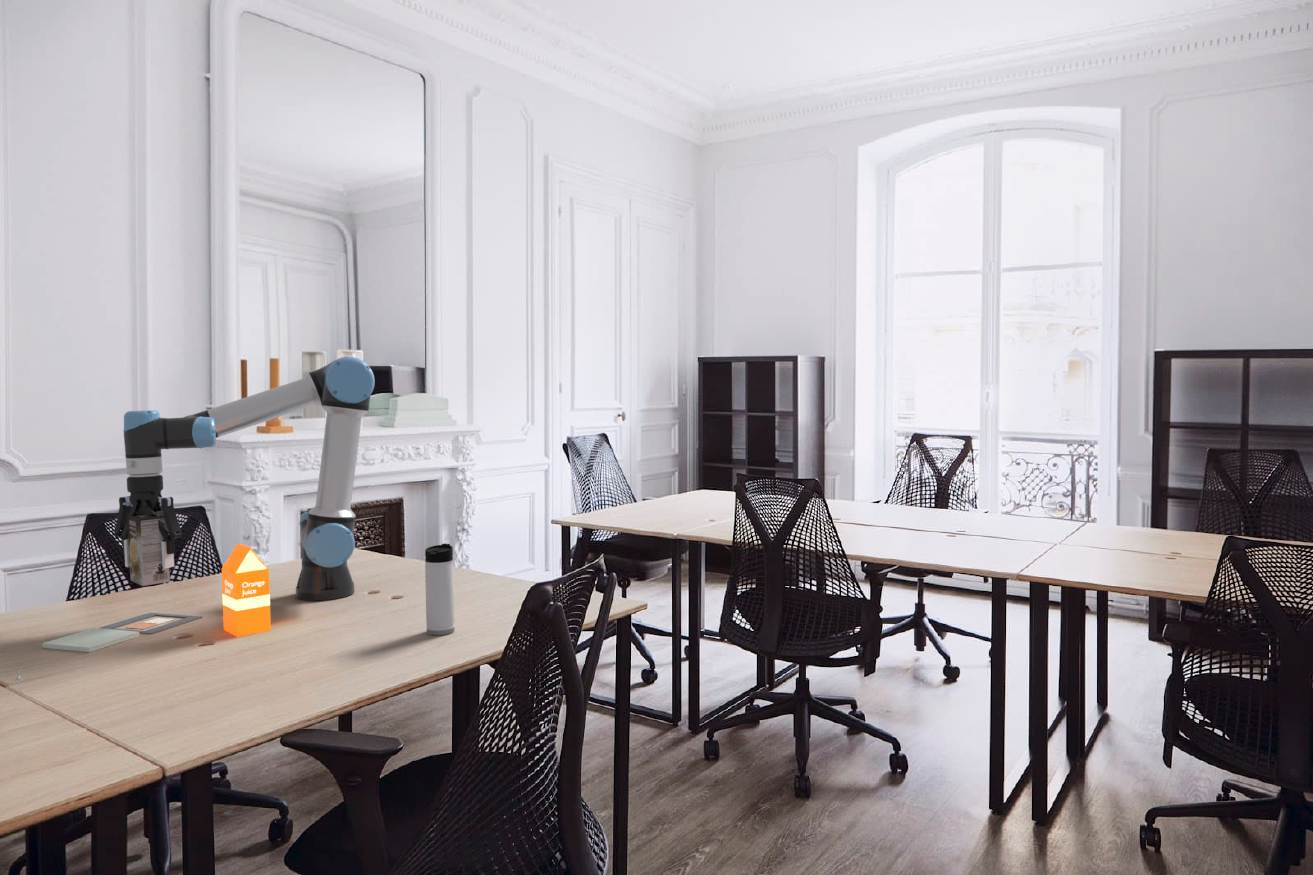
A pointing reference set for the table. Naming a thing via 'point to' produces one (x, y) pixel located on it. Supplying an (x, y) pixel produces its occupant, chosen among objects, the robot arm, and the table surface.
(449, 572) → the travel mug
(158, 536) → the coffee box
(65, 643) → the pad
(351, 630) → the table surface
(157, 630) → the tile
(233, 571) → the orange juice
